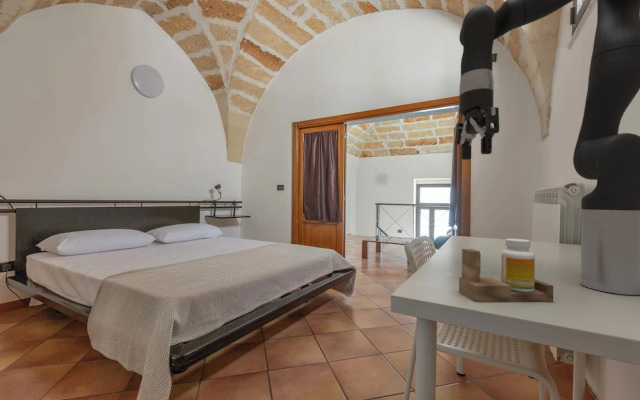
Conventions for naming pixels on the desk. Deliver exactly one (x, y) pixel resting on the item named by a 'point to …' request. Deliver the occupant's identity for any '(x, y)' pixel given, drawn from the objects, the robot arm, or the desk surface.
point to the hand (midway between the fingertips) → (475, 156)
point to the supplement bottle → (518, 265)
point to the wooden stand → (495, 284)
